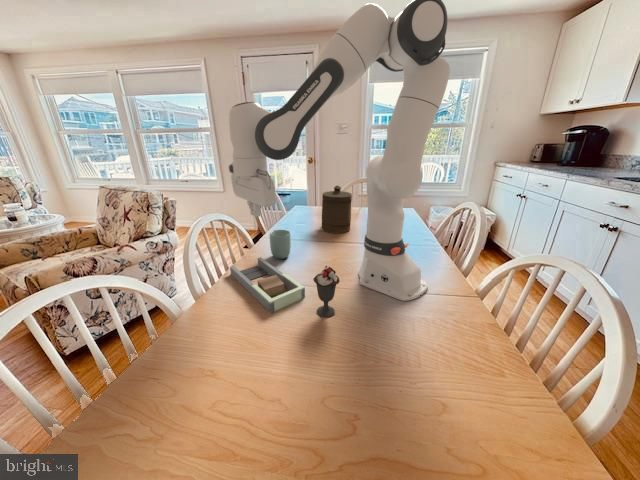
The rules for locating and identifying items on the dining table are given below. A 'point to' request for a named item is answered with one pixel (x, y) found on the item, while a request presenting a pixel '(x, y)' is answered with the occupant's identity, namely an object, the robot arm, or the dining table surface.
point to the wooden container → (336, 211)
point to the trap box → (269, 303)
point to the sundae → (326, 290)
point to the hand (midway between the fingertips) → (255, 215)
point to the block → (271, 286)
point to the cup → (280, 243)
